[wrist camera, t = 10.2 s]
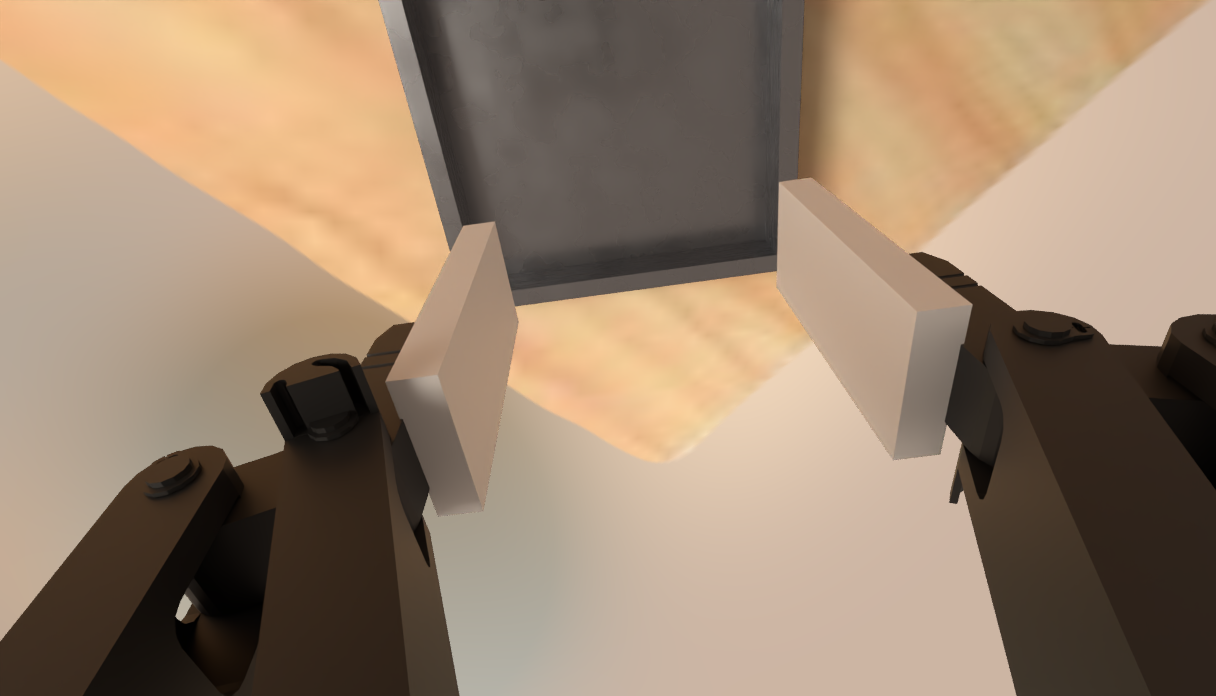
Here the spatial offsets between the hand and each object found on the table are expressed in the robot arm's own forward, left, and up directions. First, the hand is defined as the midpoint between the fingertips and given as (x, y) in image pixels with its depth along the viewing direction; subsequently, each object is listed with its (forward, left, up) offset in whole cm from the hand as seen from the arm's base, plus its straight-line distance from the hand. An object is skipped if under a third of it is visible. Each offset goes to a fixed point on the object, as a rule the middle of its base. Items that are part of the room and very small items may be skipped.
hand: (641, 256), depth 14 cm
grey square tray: (0, 0, -21) cm, 21 cm away
